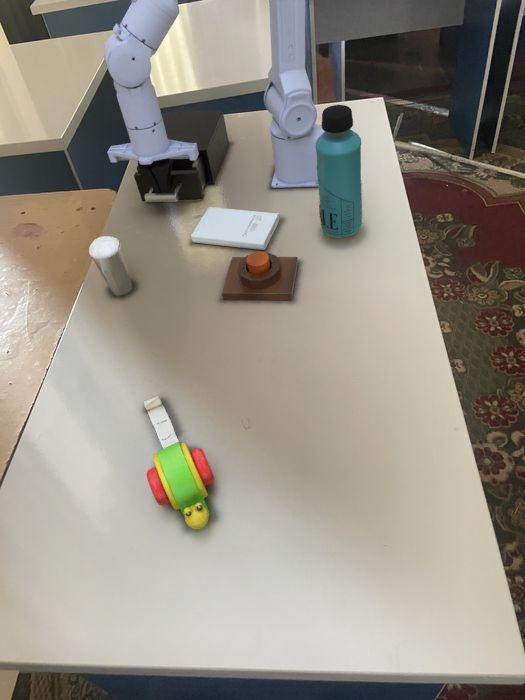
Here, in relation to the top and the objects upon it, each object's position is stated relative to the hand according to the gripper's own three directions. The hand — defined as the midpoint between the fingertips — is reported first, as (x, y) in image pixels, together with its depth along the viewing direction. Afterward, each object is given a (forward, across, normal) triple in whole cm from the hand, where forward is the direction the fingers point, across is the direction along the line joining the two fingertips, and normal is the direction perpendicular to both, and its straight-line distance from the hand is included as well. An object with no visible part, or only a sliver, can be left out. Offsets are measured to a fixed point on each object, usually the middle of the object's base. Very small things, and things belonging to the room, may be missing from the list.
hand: (165, 197), depth 97 cm
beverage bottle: (+3, +30, -7) cm, 31 cm away
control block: (+3, +19, -18) cm, 27 cm away
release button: (0, +19, -18) cm, 26 cm away
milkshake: (+3, -2, -20) cm, 20 cm away
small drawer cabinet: (+3, 0, +15) cm, 15 cm away
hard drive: (+3, +13, -6) cm, 15 cm away
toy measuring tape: (+3, +14, -49) cm, 51 cm away
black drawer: (+2, 0, +6) cm, 7 cm away
